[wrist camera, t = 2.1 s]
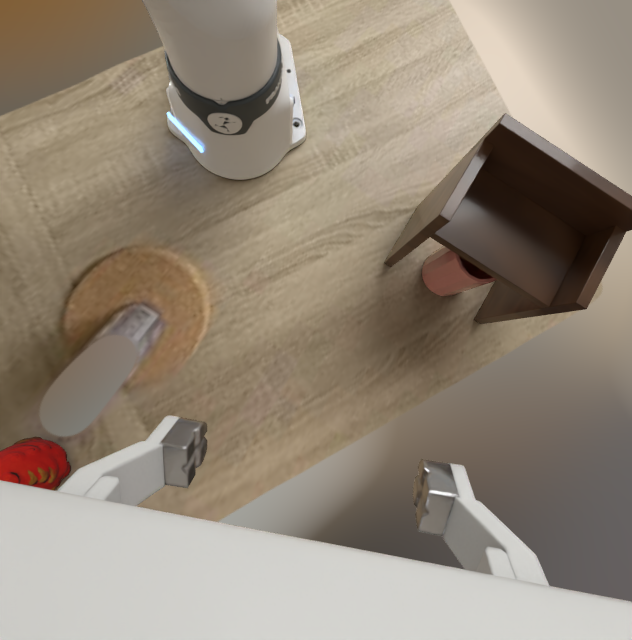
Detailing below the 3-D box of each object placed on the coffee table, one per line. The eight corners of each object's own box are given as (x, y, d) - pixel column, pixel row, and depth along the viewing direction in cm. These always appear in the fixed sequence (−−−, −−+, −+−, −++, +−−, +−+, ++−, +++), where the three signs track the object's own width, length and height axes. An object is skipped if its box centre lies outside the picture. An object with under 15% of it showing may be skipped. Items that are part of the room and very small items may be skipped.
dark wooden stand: (480, 324, 54) (609, 306, 33) (383, 262, 53) (451, 204, 32) (512, 266, 55) (657, 212, 34) (418, 205, 54) (505, 112, 33)
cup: (421, 249, 54) (455, 224, 43) (466, 251, 54) (510, 227, 44) (421, 295, 53) (456, 281, 43) (466, 297, 54) (511, 283, 43)
